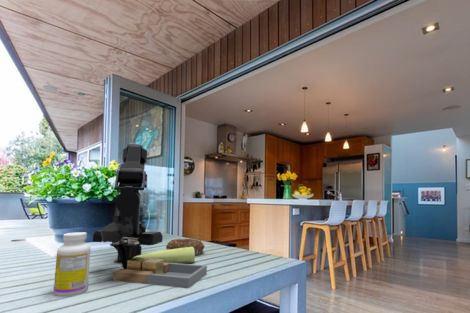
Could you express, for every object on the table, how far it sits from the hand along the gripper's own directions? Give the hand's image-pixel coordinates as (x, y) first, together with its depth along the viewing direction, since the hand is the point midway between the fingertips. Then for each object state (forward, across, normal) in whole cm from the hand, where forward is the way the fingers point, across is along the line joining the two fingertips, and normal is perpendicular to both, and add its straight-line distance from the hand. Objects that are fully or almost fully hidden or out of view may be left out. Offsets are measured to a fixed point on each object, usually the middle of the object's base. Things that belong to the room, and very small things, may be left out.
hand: (125, 269), depth 76 cm
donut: (+2, +4, +29) cm, 30 cm away
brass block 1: (+1, +4, 0) cm, 4 cm away
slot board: (+1, +6, 0) cm, 6 cm away
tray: (+1, +16, 0) cm, 16 cm away
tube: (-1, +13, +18) cm, 22 cm away
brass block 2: (+1, +8, 0) cm, 8 cm away
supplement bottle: (+2, -3, -15) cm, 15 cm away
